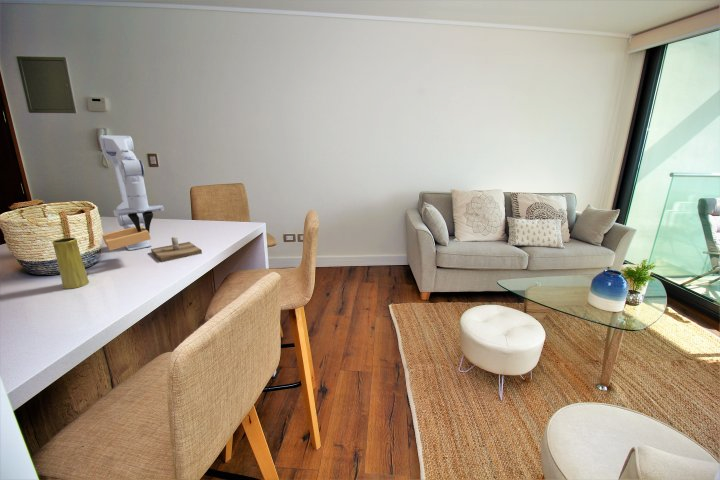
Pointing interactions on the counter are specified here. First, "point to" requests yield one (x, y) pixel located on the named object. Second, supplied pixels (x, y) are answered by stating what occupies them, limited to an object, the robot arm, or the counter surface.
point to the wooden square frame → (125, 237)
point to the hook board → (175, 250)
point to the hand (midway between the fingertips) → (143, 233)
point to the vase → (70, 263)
